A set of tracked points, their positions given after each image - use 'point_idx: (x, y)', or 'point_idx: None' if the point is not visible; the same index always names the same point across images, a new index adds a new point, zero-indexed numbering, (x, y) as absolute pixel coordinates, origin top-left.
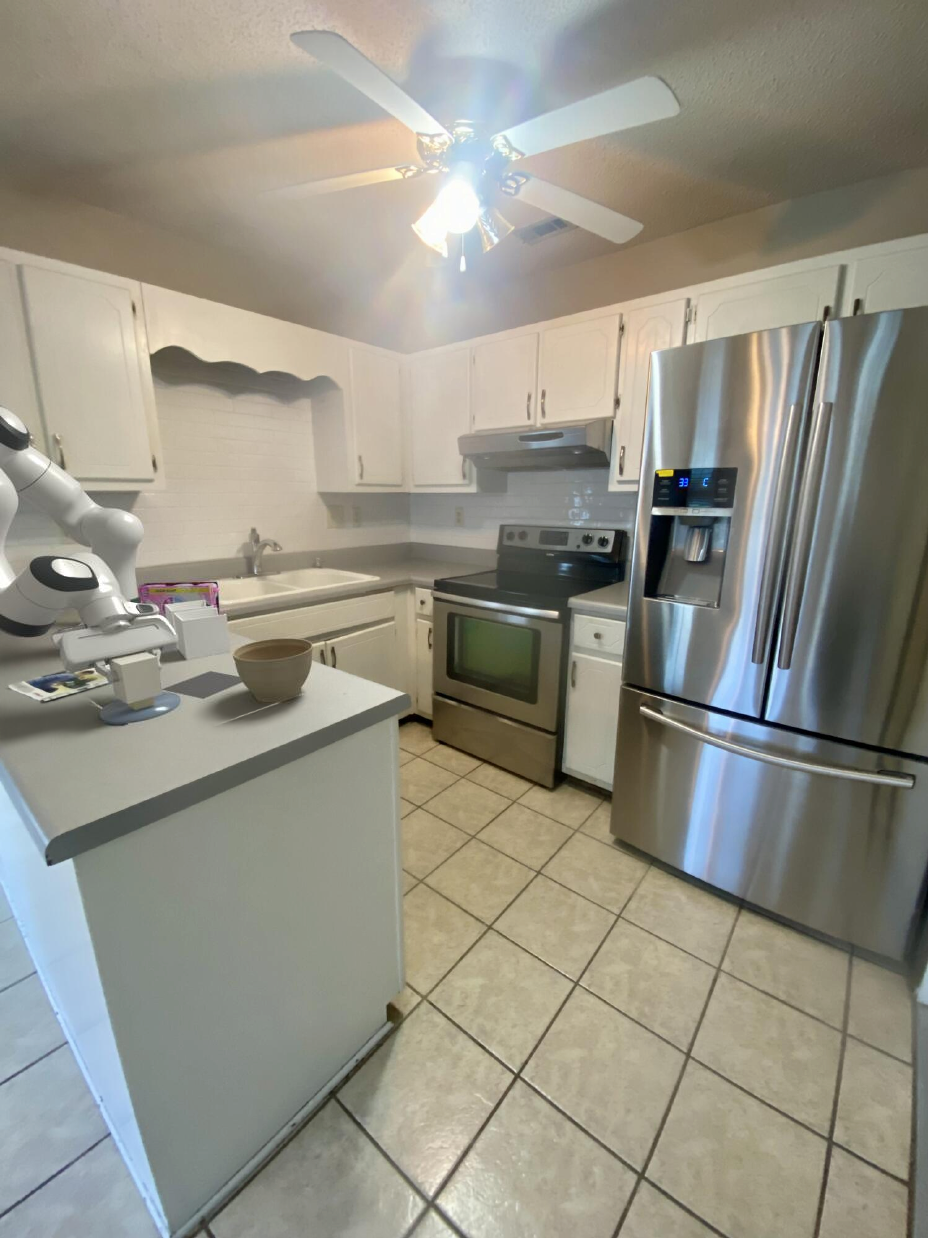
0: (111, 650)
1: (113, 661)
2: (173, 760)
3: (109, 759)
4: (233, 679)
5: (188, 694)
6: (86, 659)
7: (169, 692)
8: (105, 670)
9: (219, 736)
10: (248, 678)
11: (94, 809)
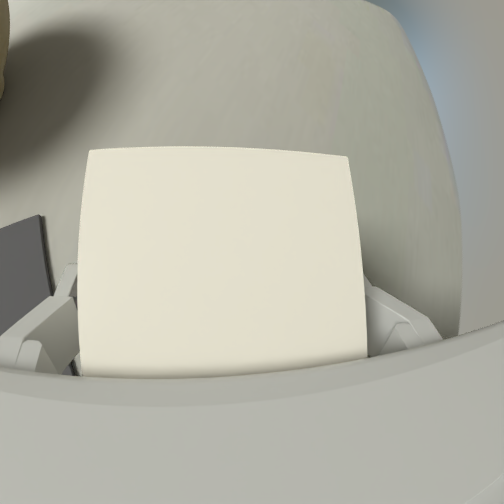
0: (392, 396)
1: (364, 304)
2: (262, 8)
3: (342, 79)
4: None
5: (45, 295)
6: (495, 329)
7: None
8: (384, 295)
9: (163, 15)
10: (6, 26)
11: (365, 10)
